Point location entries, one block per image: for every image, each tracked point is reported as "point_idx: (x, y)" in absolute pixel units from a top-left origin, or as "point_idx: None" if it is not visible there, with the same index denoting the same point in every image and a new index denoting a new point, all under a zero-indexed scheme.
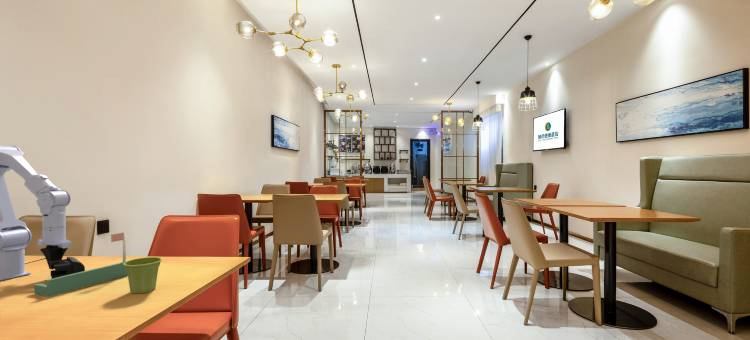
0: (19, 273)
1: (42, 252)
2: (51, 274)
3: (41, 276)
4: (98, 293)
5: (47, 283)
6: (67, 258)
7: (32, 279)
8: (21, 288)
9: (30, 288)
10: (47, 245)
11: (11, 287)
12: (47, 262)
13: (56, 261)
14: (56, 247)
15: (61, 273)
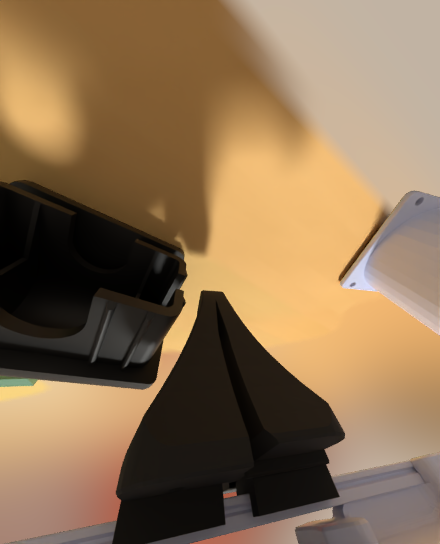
0: (372, 263)
1: (296, 384)
2: (178, 264)
3: (276, 275)
4: None
5: None
6: (127, 372)
7: (276, 240)
8: (156, 71)
9: (91, 82)
10: (318, 498)
11: (252, 86)
12: (233, 315)
13: (101, 322)
14: (118, 514)
15: (141, 283)
